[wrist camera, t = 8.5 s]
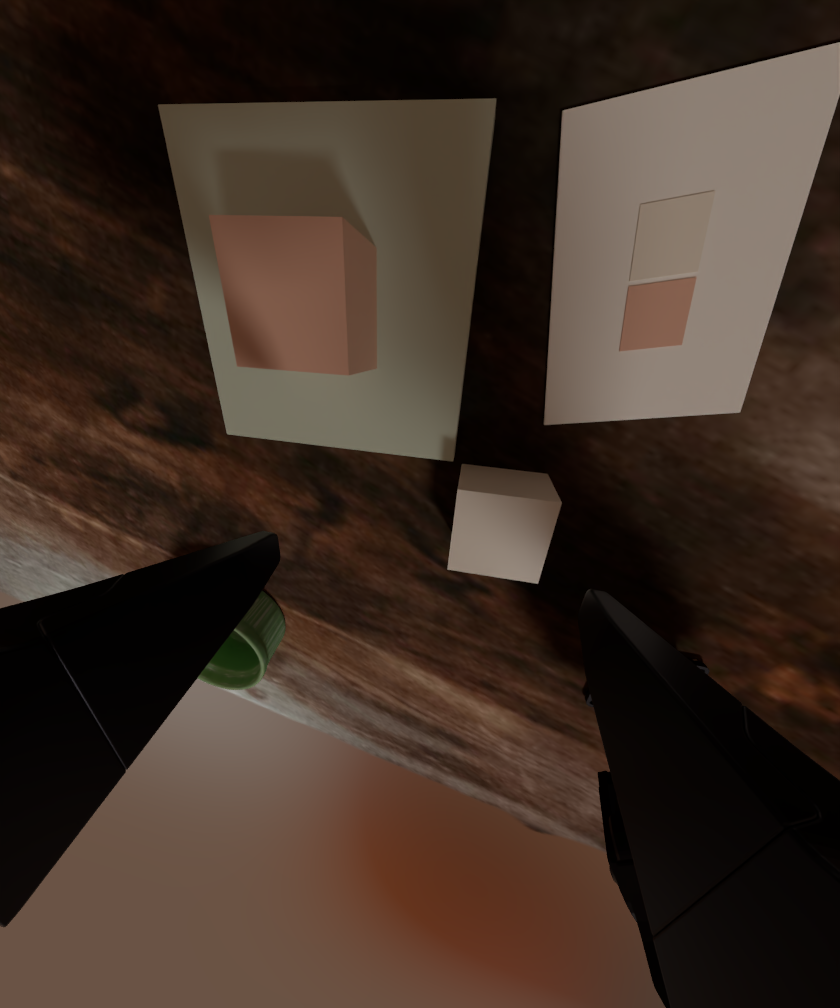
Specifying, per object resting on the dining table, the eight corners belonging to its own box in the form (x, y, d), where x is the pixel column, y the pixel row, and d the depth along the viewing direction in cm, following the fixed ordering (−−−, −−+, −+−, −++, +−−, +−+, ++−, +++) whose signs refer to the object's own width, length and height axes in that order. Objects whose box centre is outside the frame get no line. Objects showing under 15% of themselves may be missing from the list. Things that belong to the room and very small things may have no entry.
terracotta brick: (377, 368, 17) (348, 375, 13) (287, 361, 17) (236, 366, 14) (376, 247, 14) (341, 216, 11) (272, 244, 15) (208, 214, 12)
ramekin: (185, 568, 28) (137, 604, 24) (278, 575, 26) (243, 615, 23) (219, 642, 32) (182, 683, 28) (302, 651, 30) (275, 697, 27)
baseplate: (454, 455, 19) (453, 461, 18) (240, 429, 21) (227, 434, 20) (495, 118, 13) (496, 98, 12) (181, 121, 15) (157, 104, 14)
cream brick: (528, 543, 21) (538, 583, 18) (453, 532, 22) (447, 569, 18) (547, 472, 19) (561, 502, 15) (461, 462, 20) (457, 489, 16)
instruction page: (737, 411, 16) (740, 412, 16) (543, 424, 18) (544, 425, 17) (852, 41, 11) (859, 35, 10) (561, 113, 12) (563, 109, 12)
